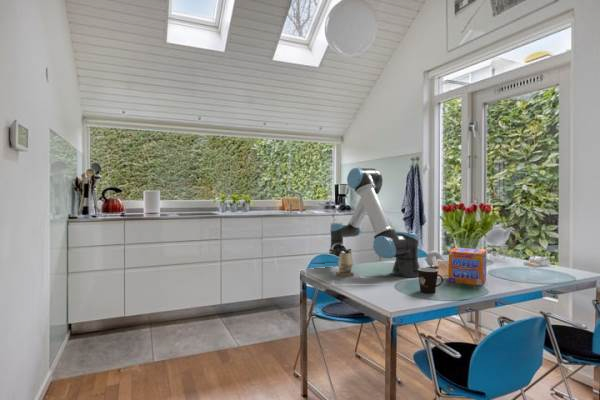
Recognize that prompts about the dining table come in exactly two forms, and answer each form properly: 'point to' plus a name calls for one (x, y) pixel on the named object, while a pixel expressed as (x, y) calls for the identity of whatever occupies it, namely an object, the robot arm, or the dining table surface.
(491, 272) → the dining table surface
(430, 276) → the coffee mug
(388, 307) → the dining table surface
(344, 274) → the mat
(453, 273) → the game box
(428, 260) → the donut
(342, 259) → the birch block
